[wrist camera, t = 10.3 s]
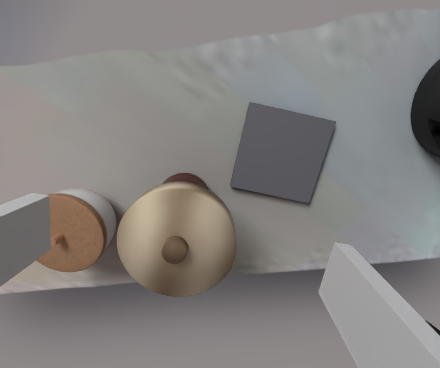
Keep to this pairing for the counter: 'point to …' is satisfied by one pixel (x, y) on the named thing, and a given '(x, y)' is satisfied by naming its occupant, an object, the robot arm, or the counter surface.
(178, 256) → the lid
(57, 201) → the lidded jar
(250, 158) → the mat
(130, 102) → the counter surface
